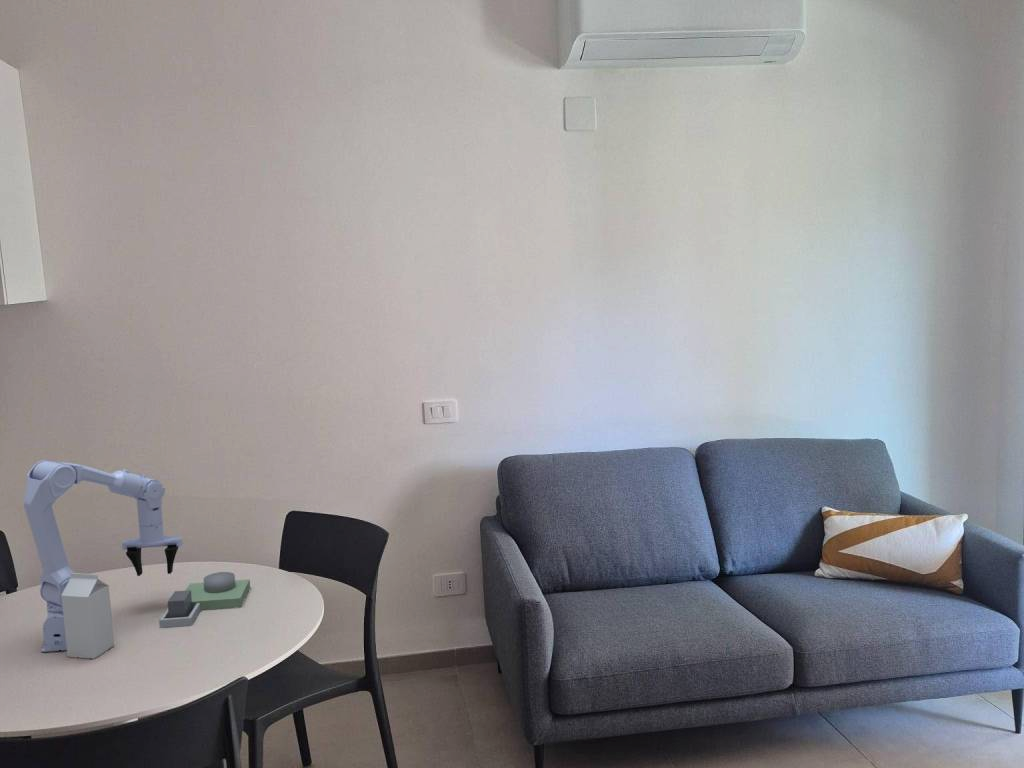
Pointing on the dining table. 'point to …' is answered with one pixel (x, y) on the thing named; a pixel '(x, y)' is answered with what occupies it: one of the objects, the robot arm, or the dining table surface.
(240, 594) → the green panel
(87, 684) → the dining table surface
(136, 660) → the dining table surface
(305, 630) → the dining table surface
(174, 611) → the dark gray block
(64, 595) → the milk carton
